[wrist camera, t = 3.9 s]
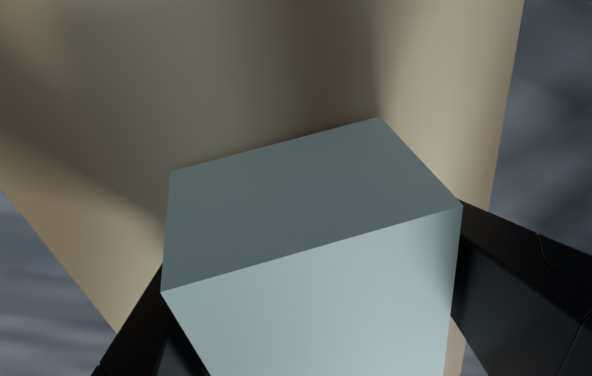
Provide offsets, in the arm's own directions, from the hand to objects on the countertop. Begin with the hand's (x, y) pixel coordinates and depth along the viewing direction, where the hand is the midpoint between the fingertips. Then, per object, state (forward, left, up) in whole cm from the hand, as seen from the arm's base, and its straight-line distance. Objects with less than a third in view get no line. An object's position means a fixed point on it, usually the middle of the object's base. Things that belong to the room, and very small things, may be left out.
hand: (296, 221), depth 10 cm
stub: (0, +1, -1) cm, 2 cm away
